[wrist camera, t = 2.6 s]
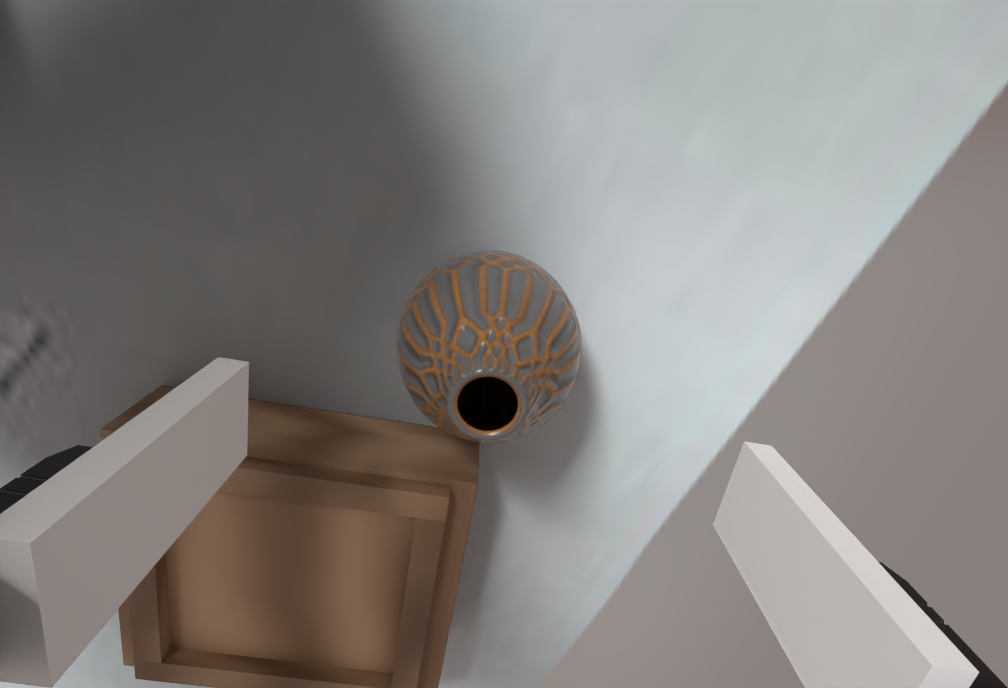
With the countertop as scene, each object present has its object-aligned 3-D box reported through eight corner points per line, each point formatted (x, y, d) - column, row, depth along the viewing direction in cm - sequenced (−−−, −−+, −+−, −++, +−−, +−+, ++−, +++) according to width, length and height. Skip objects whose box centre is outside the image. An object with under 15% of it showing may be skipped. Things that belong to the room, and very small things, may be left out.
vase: (600, 305, 24) (655, 391, 15) (501, 412, 25) (503, 540, 17) (478, 203, 22) (467, 238, 14) (382, 325, 24) (322, 421, 16)
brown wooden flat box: (171, 597, 29) (112, 680, 25) (160, 385, 25) (86, 439, 20) (443, 630, 30) (434, 716, 26) (480, 433, 26) (476, 495, 21)
